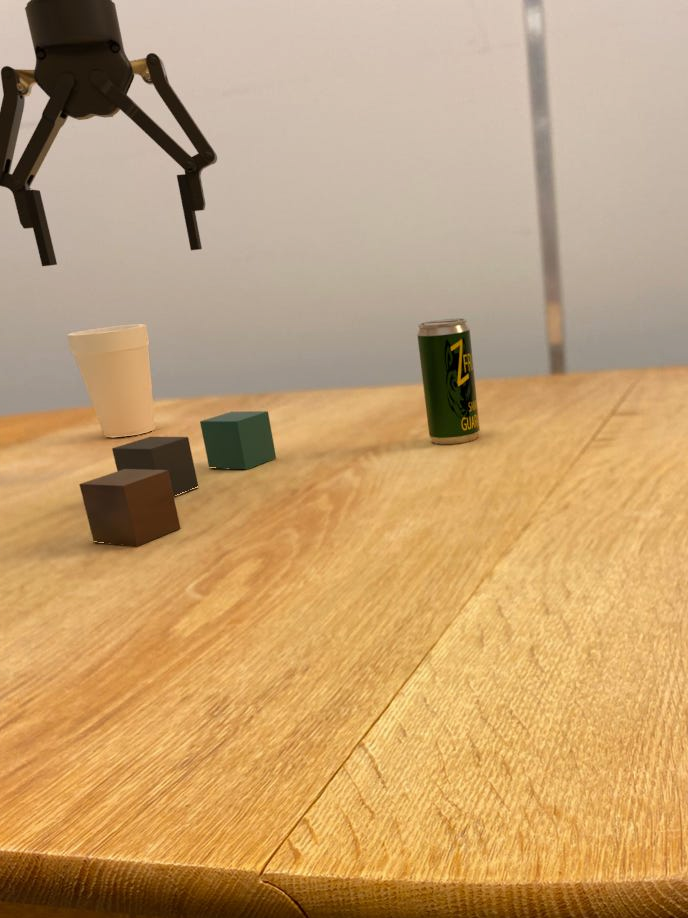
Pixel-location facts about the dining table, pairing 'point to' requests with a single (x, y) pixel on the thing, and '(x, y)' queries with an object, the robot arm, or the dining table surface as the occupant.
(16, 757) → the dining table surface
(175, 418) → the dining table surface
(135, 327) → the foam cup
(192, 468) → the charcoal block
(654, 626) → the dining table surface
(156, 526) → the walnut block
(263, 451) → the teal block
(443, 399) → the beer can
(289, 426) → the dining table surface
